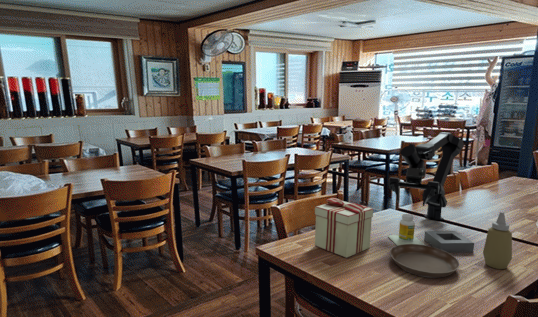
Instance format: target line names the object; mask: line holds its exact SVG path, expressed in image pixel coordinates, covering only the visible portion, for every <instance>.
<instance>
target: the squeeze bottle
mask: <svg viewBox="0 0 538 317" xmlns="http://www.w3.org/2000/svg"><path fill="white" fill-rule="evenodd" d="M505 215H506V214H505V212H502V211H500V212H499V214H498V216H497V220H496V221H492V222H491V223H492V224H491V227H490V228H489V227H488V229H487V234H486V238H485V242H484V245H483V251H482V254H483V258H484V262H485V265H487V266H488V267H490V268H493V269H497V270H505V269H507V268H508V266H509V264H510V263H511V261H512V259H513V233H512V232H511V230H510V224H509V223H507V221H506V216H505Z"/></svg>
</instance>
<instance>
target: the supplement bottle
mask: <svg viewBox="0 0 538 317" xmlns="http://www.w3.org/2000/svg"><path fill="white" fill-rule="evenodd" d="M415 226H416V222H415V221H414V215H413V214H410V213H404V214H402V215H401V219H400V221H399V229H398V235H399V239H400V240H401V241H404V242H412V241H413V240H414V236H415V228H416V227H415Z"/></svg>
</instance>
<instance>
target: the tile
mask: <svg viewBox="0 0 538 317" xmlns="http://www.w3.org/2000/svg"><path fill="white" fill-rule="evenodd" d="M387 237H388V238H389V239H390V240H391V241H392V242H393V244H394V245H395V246H398V245H403V244H418V245H425V244H424V243H423V242H422V241H421V240H419V239H418V238H417V237H416V236H415V235H414V240H413V241H412V242H404V241H401V240H400V239H399V234H389V235H388V234H387Z"/></svg>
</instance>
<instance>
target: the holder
mask: <svg viewBox="0 0 538 317" xmlns="http://www.w3.org/2000/svg"><path fill="white" fill-rule="evenodd" d="M423 239H424V241H425V242H426V243H427V244H429V246H430V247H434V248H438V249H440V250H443V251H445V252H448V253H449V254H451V253H474V248H475V242H473V241H472V240H470V239H469V238H468V237H466V236H465V235H463V234H461V233H459V232H458V231H457V230H425V231H424V237H423Z"/></svg>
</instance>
